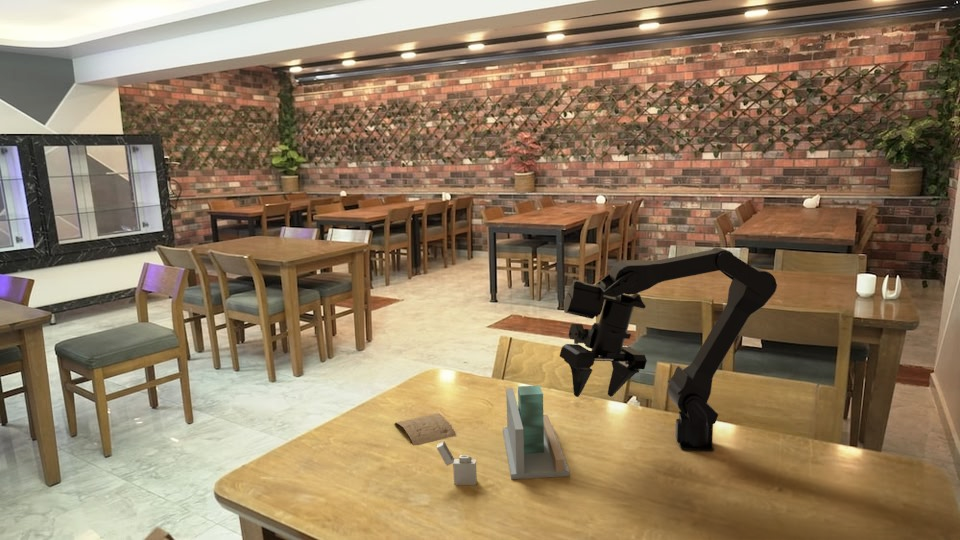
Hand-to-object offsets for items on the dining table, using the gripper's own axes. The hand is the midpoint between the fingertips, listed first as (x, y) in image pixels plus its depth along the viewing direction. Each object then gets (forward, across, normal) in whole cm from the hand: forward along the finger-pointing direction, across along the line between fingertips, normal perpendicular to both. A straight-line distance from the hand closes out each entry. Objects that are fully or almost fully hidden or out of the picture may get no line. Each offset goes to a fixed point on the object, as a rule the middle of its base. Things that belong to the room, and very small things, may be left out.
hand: (593, 395), depth 124 cm
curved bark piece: (+21, +22, -25) cm, 40 cm away
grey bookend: (+14, +8, -4) cm, 17 cm away
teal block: (+13, +9, -4) cm, 17 cm away
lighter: (+18, +26, -2) cm, 32 cm away
